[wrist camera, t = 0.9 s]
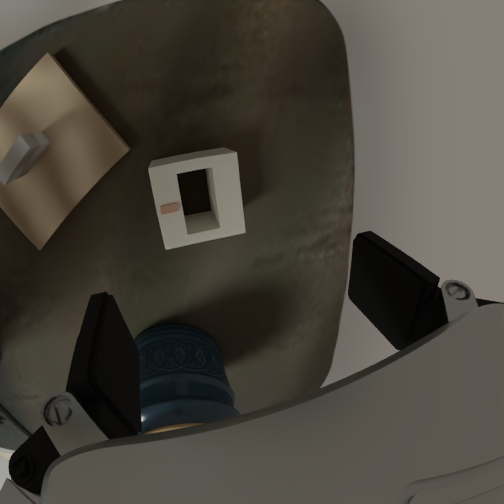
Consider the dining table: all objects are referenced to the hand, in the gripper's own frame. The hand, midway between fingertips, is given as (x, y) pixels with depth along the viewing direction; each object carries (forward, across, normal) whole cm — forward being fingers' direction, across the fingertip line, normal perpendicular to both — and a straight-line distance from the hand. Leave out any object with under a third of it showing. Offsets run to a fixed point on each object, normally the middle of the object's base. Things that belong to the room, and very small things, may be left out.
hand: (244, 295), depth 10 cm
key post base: (+18, +15, -7) cm, 25 cm away
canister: (+19, +8, +22) cm, 30 cm away
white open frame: (+18, 0, 0) cm, 19 cm away
